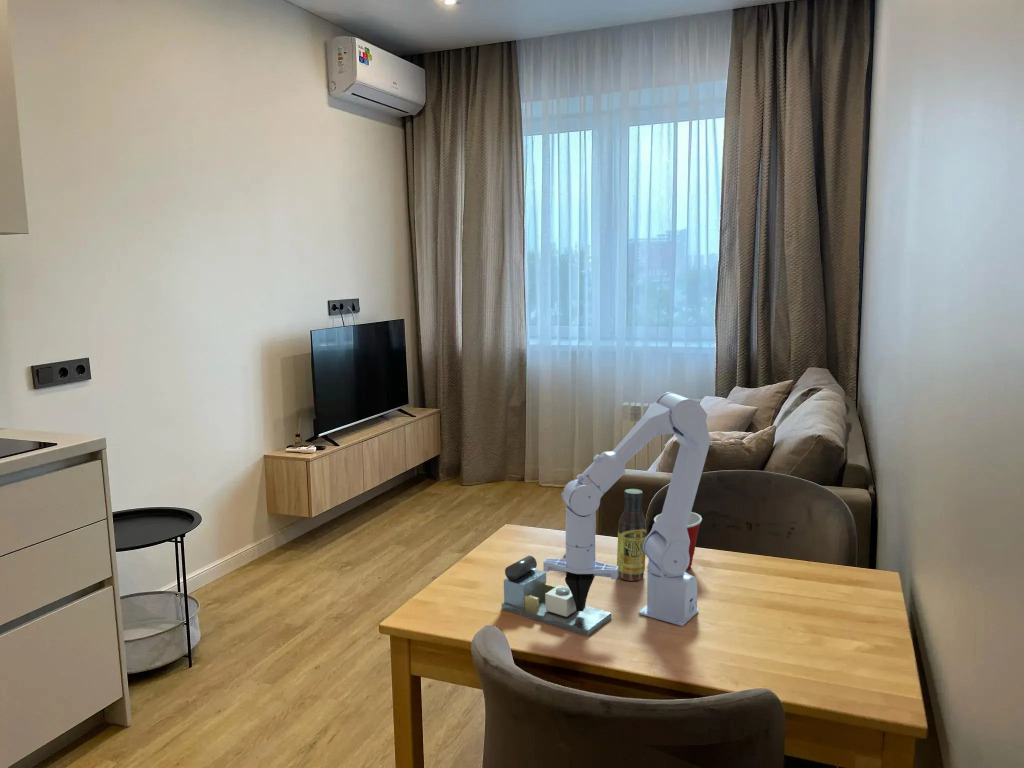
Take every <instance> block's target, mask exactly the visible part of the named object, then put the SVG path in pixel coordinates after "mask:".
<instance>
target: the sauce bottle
mask: <svg viewBox="0 0 1024 768" xmlns="http://www.w3.org/2000/svg"><path fill="white" fill-rule="evenodd" d="M623 494H624V495H623V497H624V507H623V508H624V510H623V511H622V514H621V515H620V517H619V520H618V530H617V548H616V549H617V550H616V551H617V552H616V566H618V578H619V579H621V580H624V581H629V582H634V581H635V582H636V581H639V580H642V579H643V578H644V575H645V573H644V572H645V571H646V555H645V553H644V550H643V543H644V540H645V538H646V537H647V526H646V525H647V524H646V517H645V515H644V513H643V508H642V503H643V498H644V496H643V494H644V492H643V491H642V490H641V489H638V488H629V489H625V490H624V493H623Z"/></svg>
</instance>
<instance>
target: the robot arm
mask: <svg viewBox="0 0 1024 768" xmlns="http://www.w3.org/2000/svg"><path fill="white" fill-rule="evenodd" d="M707 419H708V413H707V411H705V409H704V408H703V406H702V405H701V404H700V403H699V402H698V401H697V400H695V399H692V398H688V397H685V396H683V395H680V394H678V393H677V392H674V391H666V392H665V393H663V394H660V396H658V398H657V399H656V401H654V402H653V403H650V405H649V406H648V408H647V409H646V411H645V412H644V415H642V417H641V418H640V419H639V420H638V421H637V422H636V424H635V425H633V427H632V428H631V429H630V430H629V431H628V433H627V434H626V435H625V436H624V438H623V439H622V440H621V441H619V443H618V444H617V445H616V446H615V447H614V449H613V450H611V451H609V450H608V451H603V452H601V454H600V455H599V454H595V456H593V458H592V459H593V462H592V463H590V465H589V466H588V467H587V468H586V469H585V470H584V471H583V472H582V473H579V474H577V475H576V479H574V480H573V479H572V480H571V481H569V482H568V483H566V484H565V486H564V488H563V492H561V494H560V495H561V500H562V501H563V503H564V504H565V505H566V506H565V558H545V560H543V562H542V563H543V572H546V573H547V572H551V571H553V572H558V573H560V572H561V573H565V574H566V575H565V577H564V581H565V583H566V586H567V587H568V588H569V589H570V591H571V593H572V596H573V598H574V602H575V606H576V610H577V611H583V610H584V609H585V605H586V604H587V599H588V595H589V591H590V589H591V586H592V585H593V581H594V579H595V578H596V577H602V578H610V579H611V580H618V578H619V577H618V566H617V565H612V564H607V563H604V562H600V561H597V560H596V514H595V513H596V511H597V510H598V509H599V507H600V505H601V498H602V497H603V496H604V495H605V494H606V493H607V492H608V491H609V490H610V489H611V488H612V487H613V485H615V483H617V481H619V479H620V478H621V477H623V475H625V473H626V464H627V463H628V461H629V460H631V459H632V458H633V457H634V456H635V455H636V454H638V453H639V451H641V450H642V449H643V448H644V447H645V446H646V445H647V444H649V442H650V441H652V439H653V438H655V437H656V436H661V435H664V436H665V435H672V434H674V435H675V437H676V438H677V440H678V442H679V444H680V445H679V448H678V451H677V455H676V459H675V462H674V466H673V470H672V474H671V477H670V480H669V481H670V482H669V485H668V488H667V492H666V496H665V500H664V503H663V506H662V510H661V513H662V514H661V513H660V514H661V517H660V519H659V520H658V521H656V522H655V521H654V523H652V526H651V527H652V528H651V530H650V532H649V533H648V534H647V535H646V538H645V540H644V543H643V550H644V553H645V557H647V558H648V564H647V567H646V569H647V571H646V572H647V576H646V580H647V581H646V582H647V583H646V585H647V586H646V587H647V588H646V590H647V591H646V605H645V606H644V607H642V608H641V609H639V611H638V614H639V615H641V616H645V617H648V618H652V619H656V620H660V621H664V622H667V623H670V624H673V625H677V626H680V627H683V626H684V625H686V624H687V622H689V621H690V620H691V619H693V617H694V616H696V614H697V613H699V609H698V580H697V578H696V576H693V575H692V574H690V573H688V572H687V571H685V570H686V569H687V568H688V566H689V563H690V556H689V546H690V539H689V535H688V531H687V525H688V521H689V518H690V514H691V512H692V510H693V506H694V503H695V499H696V495H697V492H698V489H699V484H700V482H701V478H702V473H703V472H704V468H705V467H704V466H705V462H706V459H707V455H708V452H709V448H710V446H711V445H710V444H711V437H710V432H709V428H708V424H707ZM586 606H587V605H586Z"/></svg>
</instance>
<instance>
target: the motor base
mask: <svg viewBox="0 0 1024 768" xmlns="http://www.w3.org/2000/svg"><path fill="white" fill-rule="evenodd" d="M537 564H538V563H537V560H536V558H535V557H534V556H533V555H527V556H525V557H523V558H522V559H519V560H518V561H516V562H514V563H512V564H510V565H507V567H506V568H505V569H504V574H505V576H506V578H504V579H503V602H501V610H504V611H507V612H510V613H514V614H516V613H517V614H516V615H519V614H521V615H520V616H522V615H523V617H525V616H526V617H525V618H528V617H529V619H531V618H532V620H534V621H535V620H536V621H538V620H539V621H538V622H540V623H544V624H547V623H548V625H550V626H553V625H554V627H557V628H560V629H562V630H566V629H567V630H566V631H569V630H570V631H569V632H572V631H573V633H575V632H576V633H575V634H578V633H579V635H581V634H582V635H581V636H584V637H589V636H590V635H592V634H593V633H594V632H596V631H597V630H598V629H600V628H601V627H602V626H604V625H605V624H606V623H608V622H610V620H612V612H610V611H606V610H602V609H600V608H596V607H594V606H590V605H585V609H584V610H583V611H577V610H576V611H574V612H573V613H572V614H570V615H569V616H567V617H566V616H562V615H559V614H556V613H553V612H549V611H546V605H545V594H546V593H547V592H549V591H550V590H552V589H554V588H555V587H557V586H558V585H556V584H551V583H549V582H547V571H544V570H543V571H542V570H539V569H536V568H537Z"/></svg>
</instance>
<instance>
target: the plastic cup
mask: <svg viewBox="0 0 1024 768" xmlns="http://www.w3.org/2000/svg"><path fill="white" fill-rule="evenodd" d="M661 514H662V512H661V513H660V514H657V515H656V516H655V517H654V518H653V521H654V523H655V522H656V521H658V520H659V519H660V517H661ZM702 521H703V518H702V515H700V514H698V513H696V512H693V511H691V514H690V518H689V521H688V525H687V531H688V535H689V539H690V546H689V556H690V563H689V566H688V568H687V569H686V570H685V572H687V571H688V570H690V569H691V567H692V565H693V559H694V555H695V550H696V546H697V540H698V534H699V529H700V525H701V522H702Z"/></svg>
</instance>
